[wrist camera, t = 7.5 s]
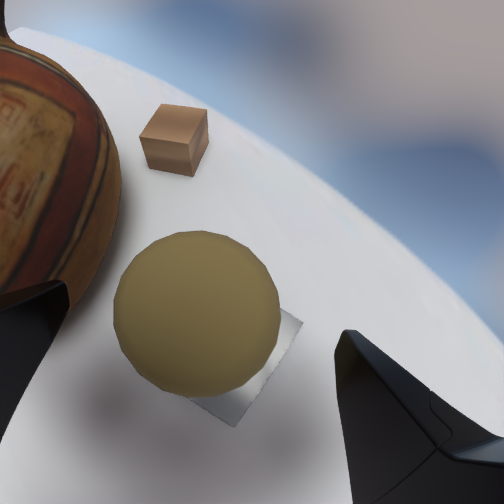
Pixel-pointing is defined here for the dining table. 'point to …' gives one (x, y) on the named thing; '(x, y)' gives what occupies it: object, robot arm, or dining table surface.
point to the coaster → (240, 399)
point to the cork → (197, 314)
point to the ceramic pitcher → (52, 174)
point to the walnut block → (175, 139)
